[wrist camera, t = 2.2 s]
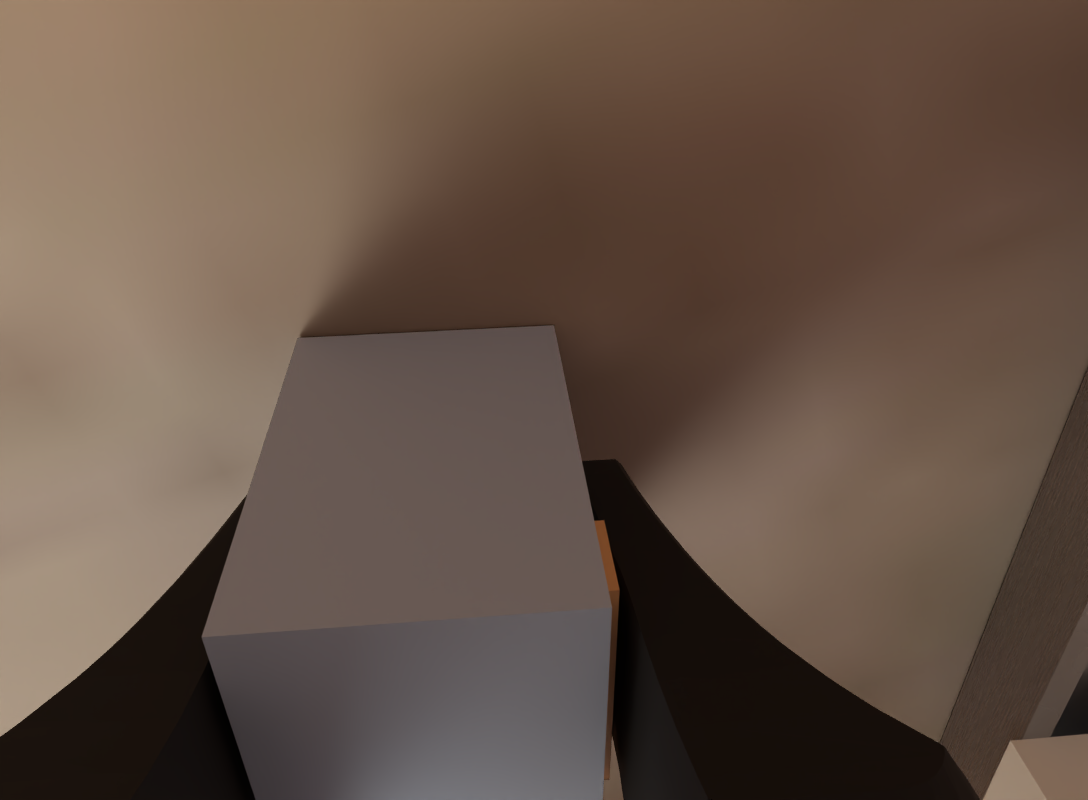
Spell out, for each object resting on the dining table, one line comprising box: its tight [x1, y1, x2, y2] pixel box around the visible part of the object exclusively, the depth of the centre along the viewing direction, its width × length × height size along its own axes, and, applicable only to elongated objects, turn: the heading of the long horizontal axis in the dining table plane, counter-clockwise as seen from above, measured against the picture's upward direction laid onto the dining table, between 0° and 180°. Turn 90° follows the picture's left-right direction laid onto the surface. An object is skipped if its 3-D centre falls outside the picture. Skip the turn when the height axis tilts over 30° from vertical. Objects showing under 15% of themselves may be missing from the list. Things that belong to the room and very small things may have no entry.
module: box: [202, 325, 620, 800], centre depth 12 cm, size 5×4×6 cm
